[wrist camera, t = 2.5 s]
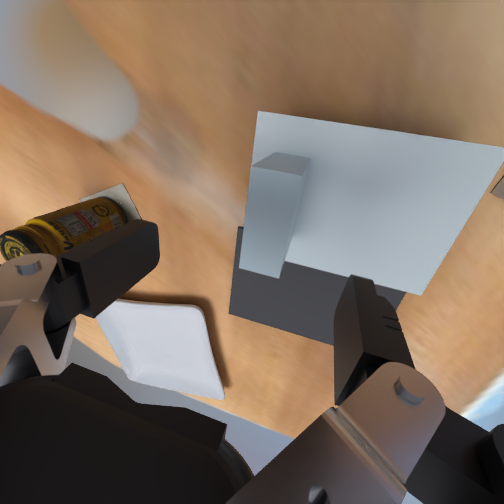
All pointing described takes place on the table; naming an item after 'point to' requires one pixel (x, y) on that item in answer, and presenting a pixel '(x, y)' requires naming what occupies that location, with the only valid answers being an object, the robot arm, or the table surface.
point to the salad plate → (163, 346)
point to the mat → (293, 298)
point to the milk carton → (499, 189)
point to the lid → (359, 199)
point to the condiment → (70, 225)
